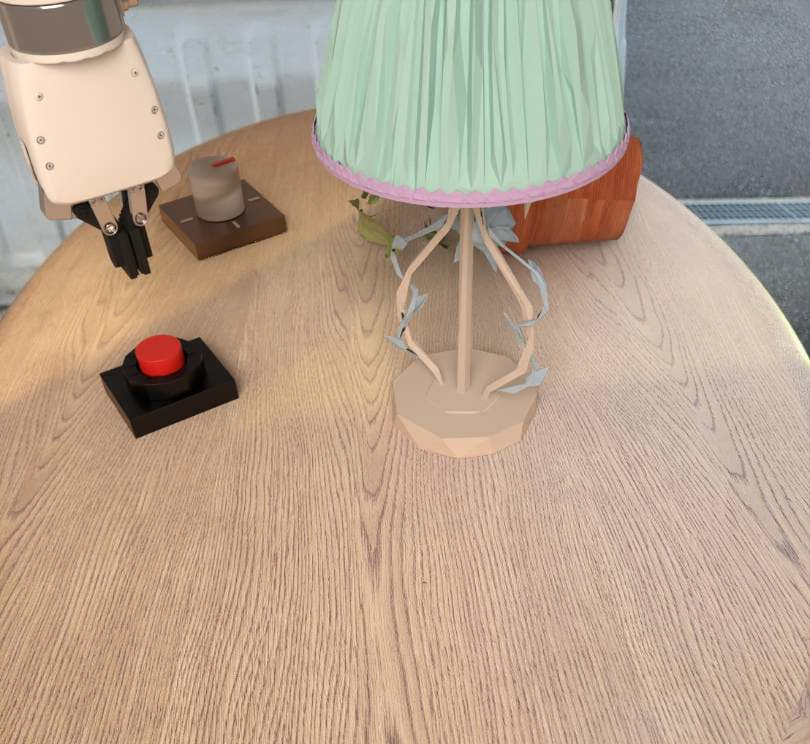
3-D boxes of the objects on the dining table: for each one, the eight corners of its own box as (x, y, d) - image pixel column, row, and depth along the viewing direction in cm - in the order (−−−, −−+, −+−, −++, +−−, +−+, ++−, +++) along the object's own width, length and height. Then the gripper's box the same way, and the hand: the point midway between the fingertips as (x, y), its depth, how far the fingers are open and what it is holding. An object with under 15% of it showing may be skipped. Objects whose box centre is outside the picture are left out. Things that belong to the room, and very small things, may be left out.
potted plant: (602, 222, 103) (305, 203, 102) (636, 89, 91) (299, 66, 90) (618, 303, 93) (289, 283, 92) (658, 167, 81) (281, 142, 80)
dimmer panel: (199, 261, 97) (194, 243, 95) (162, 221, 103) (157, 203, 101) (287, 231, 100) (284, 214, 99) (246, 194, 107) (243, 177, 105)
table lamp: (619, 375, 81) (721, -179, 51) (527, 529, 68) (593, -86, 38) (412, 317, 88) (397, -196, 58) (295, 447, 75) (199, -123, 46)
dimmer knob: (208, 226, 97) (198, 180, 94) (188, 206, 101) (178, 161, 97) (253, 212, 99) (245, 166, 95) (232, 193, 103) (224, 148, 99)
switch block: (136, 439, 77) (123, 404, 74) (105, 392, 81) (92, 357, 78) (239, 398, 80) (231, 363, 77) (204, 355, 85) (195, 320, 82)
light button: (149, 383, 76) (144, 366, 75) (133, 360, 79) (128, 344, 77) (192, 367, 78) (187, 350, 76) (174, 345, 80) (170, 329, 79)
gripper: (148, -18, 62) (201, 223, 76) (-68, 28, 57) (31, 278, 71) (189, 10, 58) (238, 260, 71) (-41, 63, 53) (59, 321, 66)
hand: (135, 268), depth 71 cm, fingers closed
